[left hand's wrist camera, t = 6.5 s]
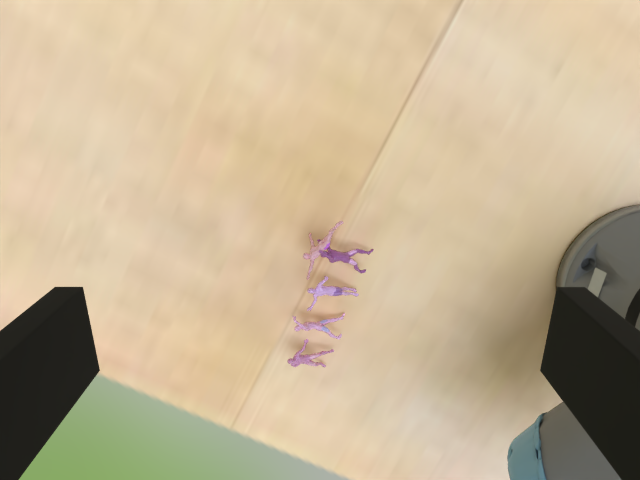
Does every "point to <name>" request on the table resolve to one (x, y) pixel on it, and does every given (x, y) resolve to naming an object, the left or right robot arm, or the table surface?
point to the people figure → (324, 293)
